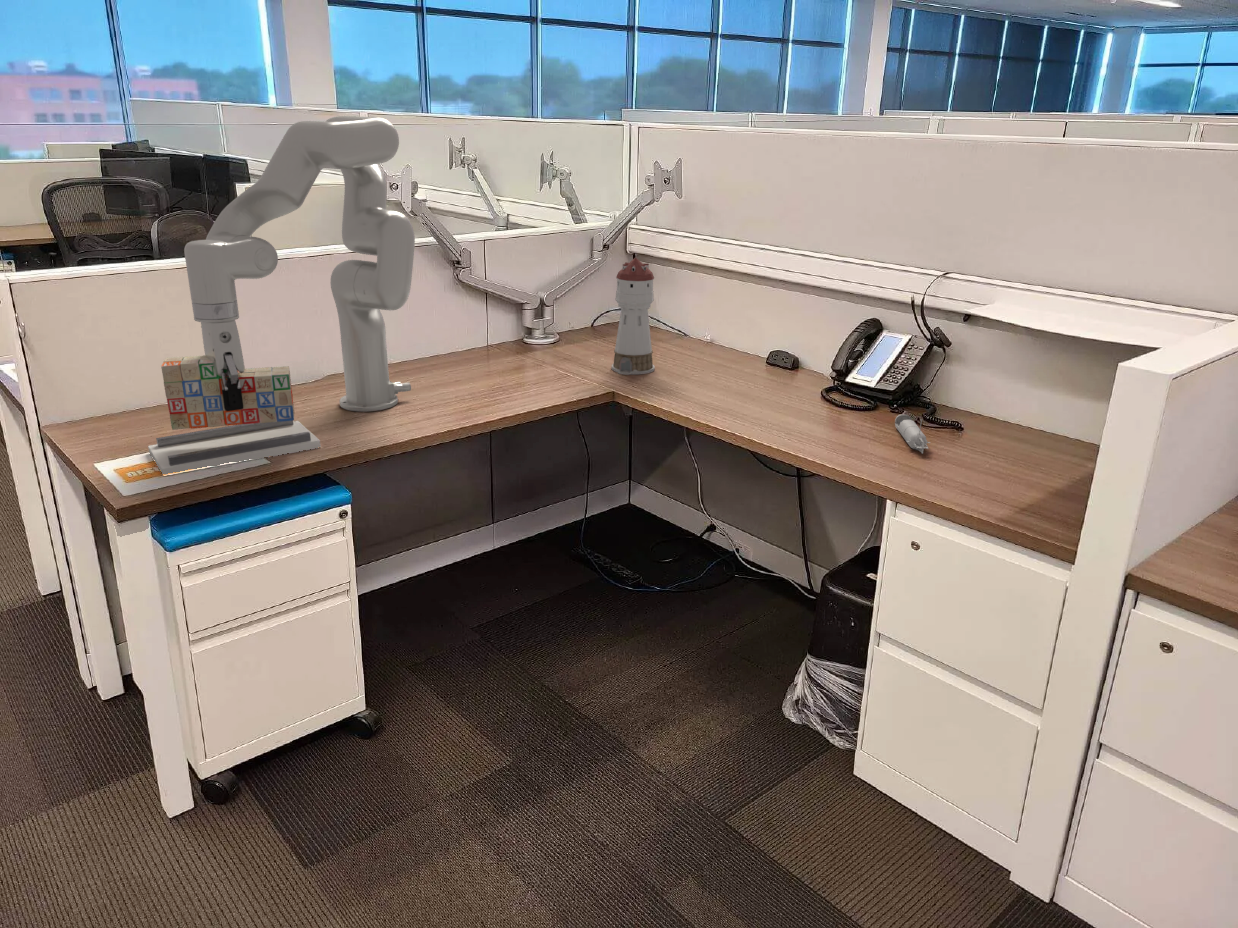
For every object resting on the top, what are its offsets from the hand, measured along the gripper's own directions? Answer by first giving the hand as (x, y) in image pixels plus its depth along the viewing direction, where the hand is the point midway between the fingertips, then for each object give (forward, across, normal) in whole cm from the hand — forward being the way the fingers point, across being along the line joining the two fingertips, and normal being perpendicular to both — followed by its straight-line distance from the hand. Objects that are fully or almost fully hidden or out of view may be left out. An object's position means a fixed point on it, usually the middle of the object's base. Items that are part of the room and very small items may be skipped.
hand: (228, 403), depth 168 cm
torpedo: (+9, -66, -117) cm, 135 cm away
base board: (+9, 0, 0) cm, 9 cm away
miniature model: (+9, +8, -100) cm, 101 cm away
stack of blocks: (+4, 0, -1) cm, 4 cm away
